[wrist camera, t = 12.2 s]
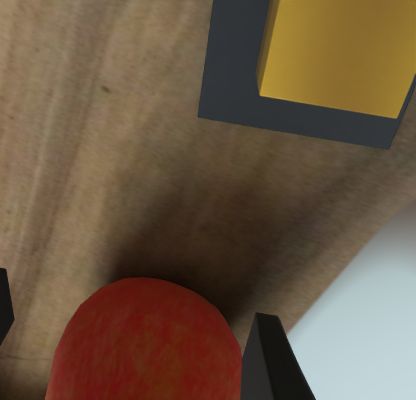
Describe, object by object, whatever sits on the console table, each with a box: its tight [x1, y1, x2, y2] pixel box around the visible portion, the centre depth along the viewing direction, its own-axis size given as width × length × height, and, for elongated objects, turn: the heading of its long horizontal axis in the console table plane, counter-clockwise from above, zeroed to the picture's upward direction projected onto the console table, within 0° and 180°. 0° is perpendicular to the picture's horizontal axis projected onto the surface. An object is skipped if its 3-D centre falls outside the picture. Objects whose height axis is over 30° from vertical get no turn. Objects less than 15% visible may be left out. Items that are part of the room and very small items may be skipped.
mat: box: [198, 0, 416, 150], centre depth 14 cm, size 9×9×1 cm
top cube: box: [256, 0, 416, 118], centre depth 12 cm, size 4×4×4 cm
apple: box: [45, 277, 242, 400], centre depth 19 cm, size 10×10×10 cm
